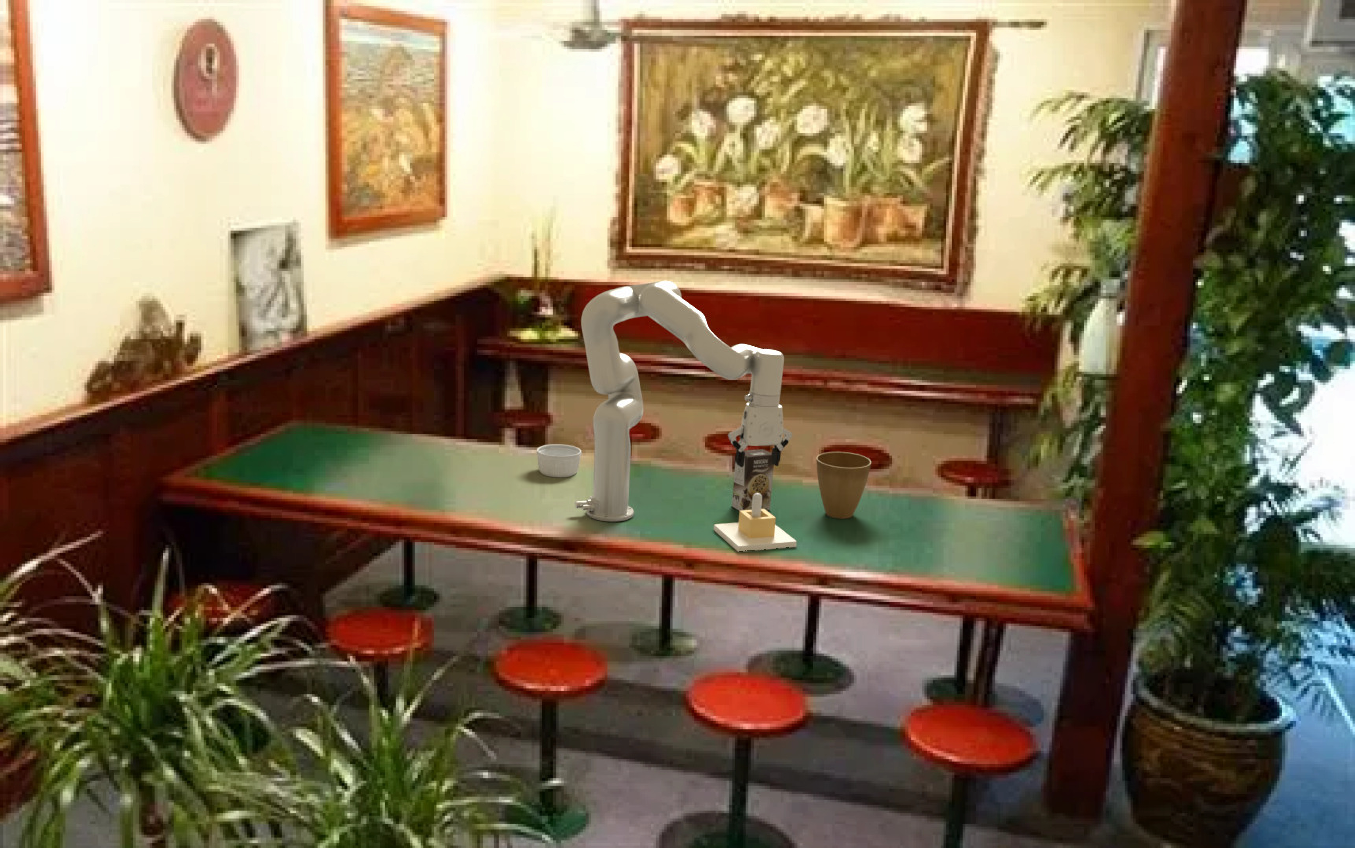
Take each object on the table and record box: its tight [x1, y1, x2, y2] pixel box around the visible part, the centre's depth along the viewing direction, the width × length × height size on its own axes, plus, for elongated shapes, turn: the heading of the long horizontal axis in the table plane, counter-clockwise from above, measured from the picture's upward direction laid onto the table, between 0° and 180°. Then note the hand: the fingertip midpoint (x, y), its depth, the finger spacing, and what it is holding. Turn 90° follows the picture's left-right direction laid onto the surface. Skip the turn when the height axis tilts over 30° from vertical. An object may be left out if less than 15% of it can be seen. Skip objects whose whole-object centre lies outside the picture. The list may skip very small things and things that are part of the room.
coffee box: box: [731, 448, 775, 511], centre depth 306 cm, size 9×6×16 cm
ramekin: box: [536, 443, 582, 478], centre depth 330 cm, size 13×13×7 cm
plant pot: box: [815, 451, 872, 520], centre depth 305 cm, size 15×15×16 cm
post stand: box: [713, 493, 797, 553], centre depth 284 cm, size 16×16×12 cm
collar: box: [738, 509, 777, 538], centre depth 284 cm, size 7×7×5 cm
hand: (757, 464), depth 280 cm, fingers open, 9 cm apart
